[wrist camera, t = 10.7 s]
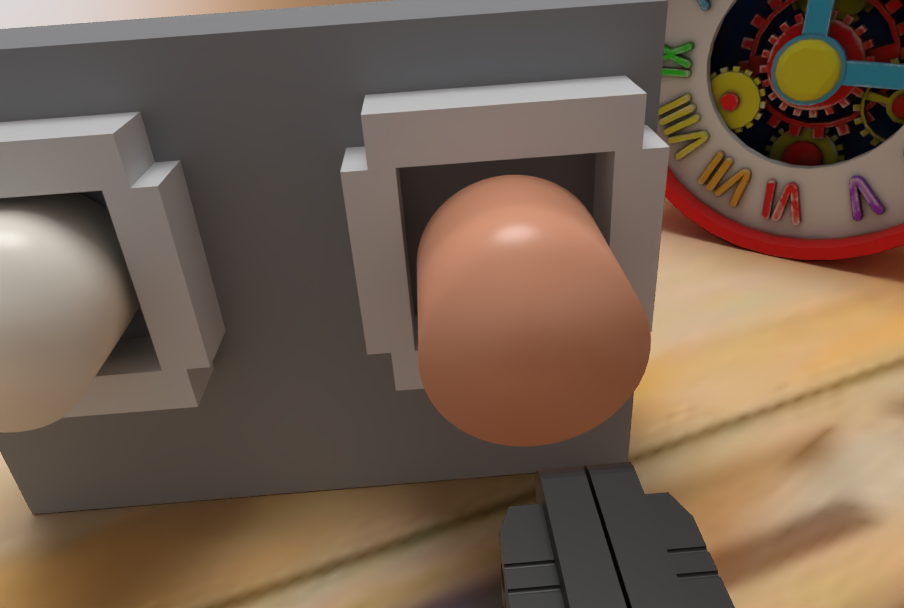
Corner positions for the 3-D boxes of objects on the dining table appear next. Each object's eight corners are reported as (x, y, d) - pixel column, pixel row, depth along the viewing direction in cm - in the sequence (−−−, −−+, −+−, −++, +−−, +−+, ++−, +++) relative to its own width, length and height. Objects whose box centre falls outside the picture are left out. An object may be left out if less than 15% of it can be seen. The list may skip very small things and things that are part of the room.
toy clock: (607, 220, 45) (627, -149, 35) (645, 190, 49) (673, -150, 39) (983, 301, 34) (1171, -201, 24) (993, 255, 38) (1159, -195, 28)
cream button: (6, 342, 22) (-64, 191, 19) (167, 330, 22) (119, 177, 19) (-82, 440, 18) (-183, 266, 15) (115, 424, 18) (46, 248, 15)
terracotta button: (424, 347, 20) (408, 182, 18) (597, 333, 20) (605, 167, 18) (427, 455, 16) (408, 263, 14) (641, 437, 16) (660, 243, 14)
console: (591, 370, 31) (610, -24, 23) (642, 505, 24) (696, 11, 16) (95, 410, 31) (-61, 25, 23) (5, 558, 24) (-266, 82, 16)
